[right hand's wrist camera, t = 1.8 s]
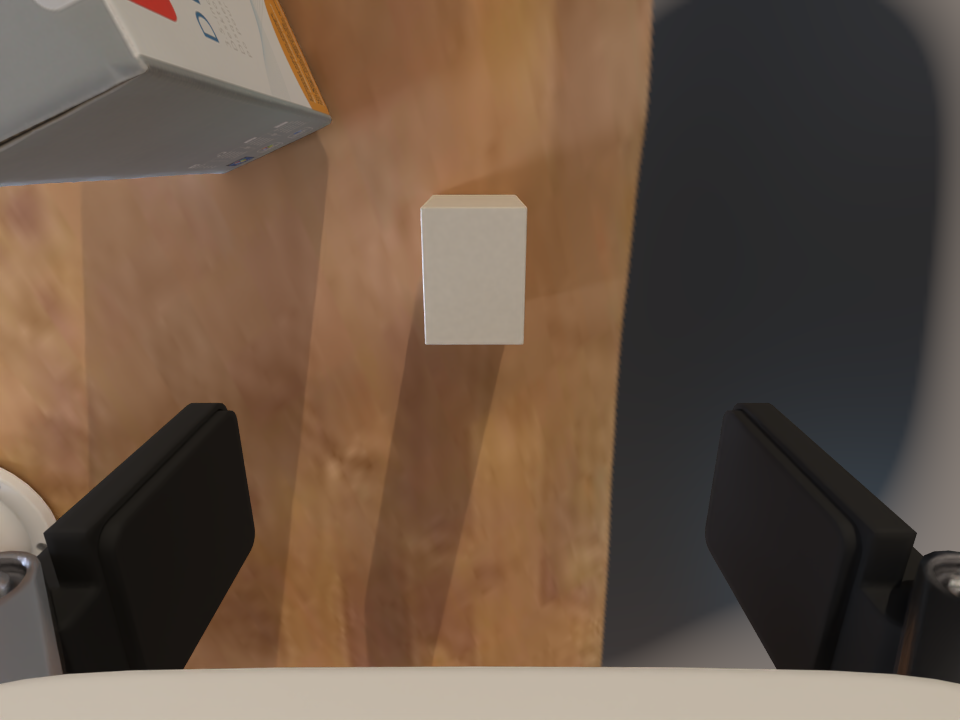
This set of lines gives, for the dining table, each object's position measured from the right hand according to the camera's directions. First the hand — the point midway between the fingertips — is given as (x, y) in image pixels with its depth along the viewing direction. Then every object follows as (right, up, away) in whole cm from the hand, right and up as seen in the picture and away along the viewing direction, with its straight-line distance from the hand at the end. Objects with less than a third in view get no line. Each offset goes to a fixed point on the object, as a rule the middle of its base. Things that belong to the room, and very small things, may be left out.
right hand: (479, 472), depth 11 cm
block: (0, +9, +24) cm, 26 cm away
